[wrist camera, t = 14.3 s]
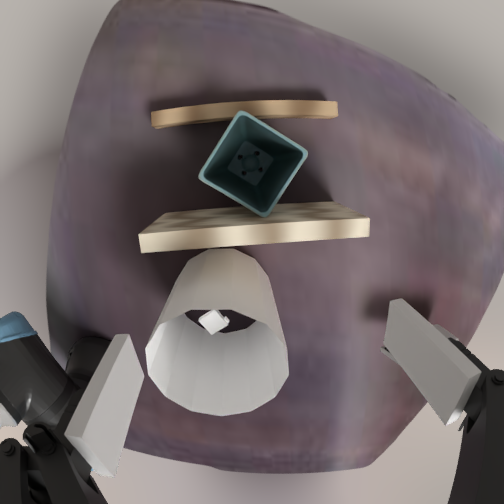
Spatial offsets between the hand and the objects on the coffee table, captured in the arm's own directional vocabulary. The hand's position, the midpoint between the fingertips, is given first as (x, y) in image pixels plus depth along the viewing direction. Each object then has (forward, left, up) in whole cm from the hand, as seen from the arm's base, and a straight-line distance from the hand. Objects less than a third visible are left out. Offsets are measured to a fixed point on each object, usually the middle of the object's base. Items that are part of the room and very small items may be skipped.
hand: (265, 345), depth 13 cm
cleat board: (+1, +8, -28) cm, 29 cm away
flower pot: (+1, +8, -29) cm, 30 cm away
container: (-4, -11, -29) cm, 31 cm away
